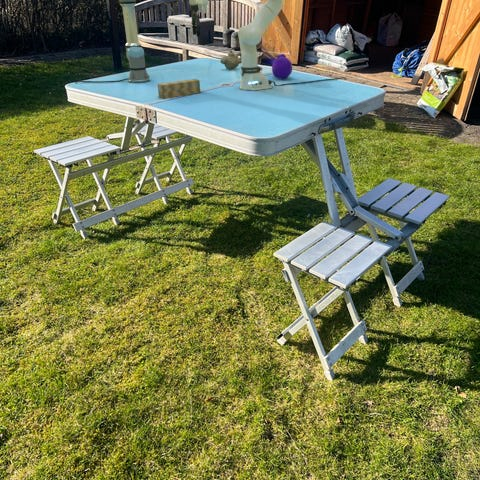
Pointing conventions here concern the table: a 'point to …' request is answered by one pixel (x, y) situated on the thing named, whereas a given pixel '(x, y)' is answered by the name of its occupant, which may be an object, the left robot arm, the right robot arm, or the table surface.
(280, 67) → the toy
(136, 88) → the table surface
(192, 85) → the bar
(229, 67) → the teapot
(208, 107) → the table surface
